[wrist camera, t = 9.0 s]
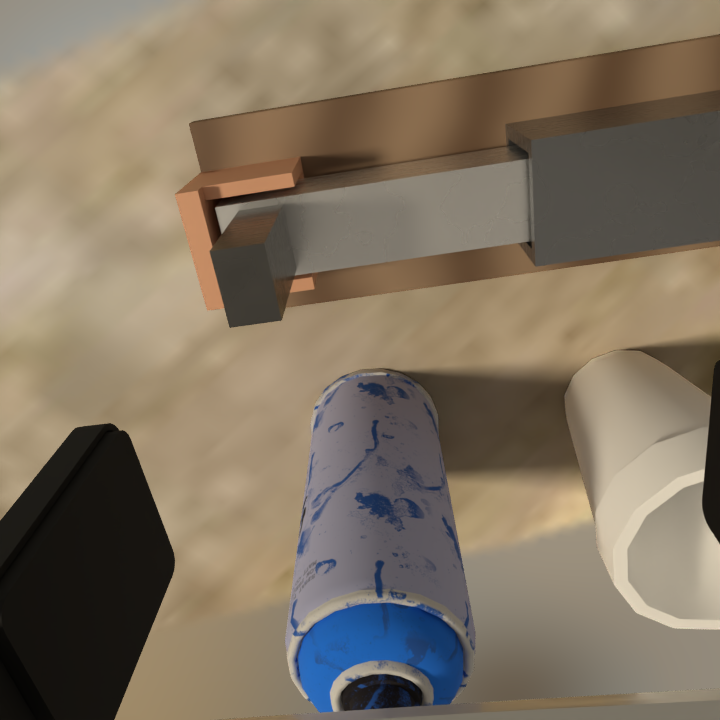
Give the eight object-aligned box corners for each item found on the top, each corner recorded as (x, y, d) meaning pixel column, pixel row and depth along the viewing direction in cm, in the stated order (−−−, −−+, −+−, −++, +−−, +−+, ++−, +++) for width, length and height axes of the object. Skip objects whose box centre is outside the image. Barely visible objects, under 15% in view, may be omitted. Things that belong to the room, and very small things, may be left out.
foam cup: (652, 474, 41) (765, 646, 30) (516, 444, 40) (578, 609, 29) (726, 345, 37) (890, 485, 26) (576, 307, 36) (676, 436, 25)
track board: (758, 27, 30) (770, 27, 29) (735, 237, 34) (745, 242, 34) (193, 121, 32) (189, 123, 31) (240, 307, 36) (237, 314, 35)
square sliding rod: (557, 138, 30) (632, 178, 22) (558, 214, 32) (629, 279, 23) (230, 189, 32) (179, 247, 23) (247, 260, 33) (206, 338, 25)
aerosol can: (296, 382, 39) (236, 683, 21) (425, 356, 38) (481, 645, 20) (328, 486, 42) (301, 821, 24) (448, 464, 41) (512, 793, 23)
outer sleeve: (764, 82, 30) (840, 91, 25) (751, 197, 32) (818, 226, 28) (505, 123, 31) (531, 140, 26) (510, 233, 33) (535, 266, 29)
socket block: (300, 156, 32) (289, 176, 27) (320, 261, 34) (313, 295, 30) (201, 172, 32) (175, 194, 28) (227, 274, 34) (207, 310, 30)
